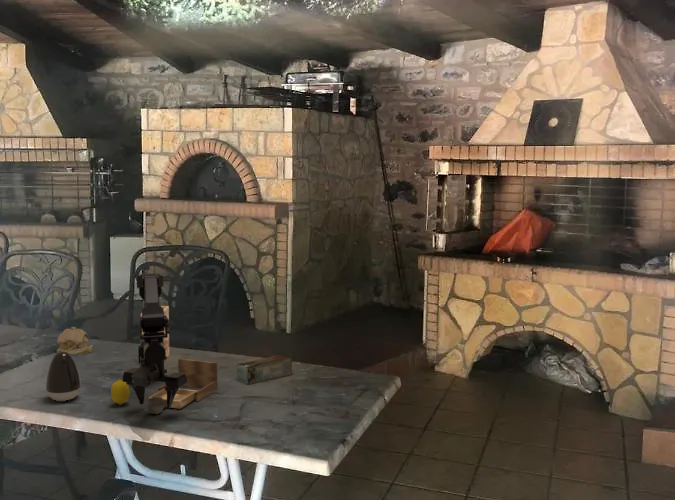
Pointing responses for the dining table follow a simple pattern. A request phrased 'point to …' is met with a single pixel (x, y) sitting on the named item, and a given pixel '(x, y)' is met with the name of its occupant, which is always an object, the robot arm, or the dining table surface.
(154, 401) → the wooden drawer
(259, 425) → the dining table surface
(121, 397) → the lemon
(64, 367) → the brown tapered dome
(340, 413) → the dining table surface
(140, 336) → the robot arm
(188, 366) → the open wooden box
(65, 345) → the ceramic model
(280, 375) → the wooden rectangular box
